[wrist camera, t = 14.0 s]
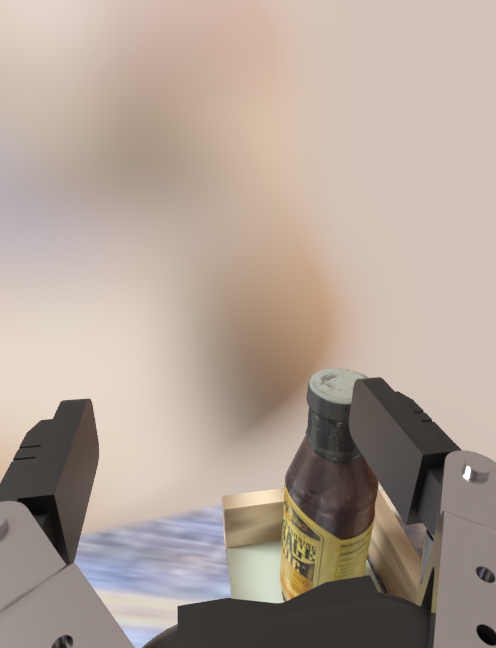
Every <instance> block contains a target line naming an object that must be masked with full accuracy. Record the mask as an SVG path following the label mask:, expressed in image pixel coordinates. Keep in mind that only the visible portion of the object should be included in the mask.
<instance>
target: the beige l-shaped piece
mask: <svg viewBox="0 0 496 648" xmlns="http://www.w3.org/2000/svg"><path fill="white" fill-rule="evenodd" d="M284 489H285V488H281V489H273V490H267V491H258V492H252V493H243V494H236V495H228V496H223V497H222V500H223V522H224V540H225V548H226V556H227V564H228V572H229V580H230V588H231V596H232V599H241V600H251V601H260V602H269V603H283V602H284V600H283V595H282V588H281V582H280V566H281V546H282V521H283V507H284ZM368 555H369V557H370V559H371V561H372V563H373V565H374V567H375V569H376V571H377V573H378V575H379V577H380V579H381V581H382V583H383V585H384V587H385V589H386V591H387V594H391V595H395V596H398V597H401V598H404V599H406V600H408V601H411V602H413V603H415V602H416V596H417V589H418V581H419V573H420V566H421V558H420V556H419V554H418V553H417V551H416V550H415V548H414V546H413V545H412V543H411V541H410V540H409V538H408V537H407V535H406V533H405V532H404V530H403V529H402V527H401V525H400V524H399V522H398V520H397V519H396V517H395V516H394V514H393V512H392V511H391V509H390V508H389V506H388V504H387V503H386V501H385V499H384V498H383V496H382V495H381V493H380V491H379V490H378V492H377V498H376V502H375V518H374V524H373V529H372V534H371V540H370V545H369V550H368ZM368 575H370V576H371V578H372V580H373V582H374V584H375V586H376V589H377V591H378V592H382V590H381V587H380V585H379V583H378V581H377V579H376V577H375V575H374V573H373V571H372V569H371V567H370V565H369V562H368V560H367V561H366V567H365V573H364V576H368Z"/></svg>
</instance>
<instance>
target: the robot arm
mask: <svg viewBox="0 0 496 648" xmlns="http://www.w3.org/2000/svg"><path fill="white" fill-rule="evenodd" d="M349 430H350V434H351V437H352V439H353V441H354V442H355V444H356V446H357V447H358V449H359V450H360V452H361V454H362V455H363V457H364V458H365V460H366V462H367V463H368V465H369V466H370V468H371V470H372V471H373V473H374V474H375V476H376V478H377V479H378V481H379V482H380V484H381V486H382V487H383V489H384V490H385V492H386V494H387V495H388V497H389V498H390V500H391V502H392V503H393V505H394V506H395V508H396V510H397V511H398V513H399V514H400V516H401V518H402V519H403V521H404V523H405V524H406V525H409V524H416V523H423V524H424V525H425V527H426V528H427V529H426V533H425V536H424V542H423V550H422V558H421V566H420V573H419V581H418V589H417V596H416V602H415V603H413V602H411V601H408V600H406V599H404V598H401V597H398V596H395V595H391V594H387V593H383V592H378V591H377V589H376V586H375V584H374V582H373V580H372V578H371V576H370V575H368V576H361V577H355V578H349V579H343V580H337V581H330V582H325V583H323V584H321V585H319V586H317V587H315V588H313V589H311V590H309V591H307V592H305V593H302V594H300V595H298V596H296V597H294V598H292V599H290V600H288V601H286V602H283V603H269V602H260V601H251V600H241V599H232V598H225V599H219V600H213V601H206V602H200V603H194V604H188V605H182V606H178V624H177V625H175V626H173V627H171V628H169V629H167V630H165V631H164V632H162V633H161V634H159V635H157V636H156V637H154V638H153V639H152V640H151V641H149V642H148V643H147V644H146V645H144V646H143V647H142V648H496V463H495V462H494V461H493V460H491V459H489V458H487V457H485V456H483V455H481V454H478V453H475V452H470V451H462V450H461V449H460V448H459V447H458V446H457V445H456V444H455V443H454V442H453V441H452V440H451V439H450V438H449V437H448V436H447V435H446V434H445V433H444V431H442V429H440V427H439V426H438V425H437V424H436V423H435V422H432V419H431V418H430V417H429V416H428V415H427V414H426V413H424V412H423V410H422V409H421V408H420V407H419V406H418V405H417V404H416V403H415V402H414V400H412V399H410V398H409V397H407V396H405V395H403V394H402V393H400V392H394V391H393V389H392V388H391V387H390V386H389V385H388V384H387V383H386V382H385V381H384V380H383V379H382V378H380V377H379V378H378V377H377V378H364V379H357V380H356V381H355V383H354V387H353V394H352V401H351V408H350V415H349ZM98 458H99V443H98V436H97V430H96V424H95V417H94V412H93V405H92V402H91V400H90V399H79V400H65V401H62V402H61V403H60V405H59V407H58V409H57V411H56V413H55V416H54V418H53V419H49V420H41V421H40V422H39V423H38V424H37V425H35V426H34V427H33V428H32V429H31V430H30V431H28V432H27V434H26V436H25V437H24V440H23V441H22V443H21V445H20V449H19V450H18V451H17V453H16V455H15V457H14V459H13V460H14V461H13V462H11V464H10V466H9V468H8V470H7V472H6V474H5V476H4V478H3V479H2V481H1V483H0V648H134V646H133V645H132V643H131V642H130V640H129V639H128V638H127V636H126V635H125V633H124V632H123V630H122V629H121V628H120V626H119V625H118V623H117V622H116V620H115V619H114V618H113V616H112V615H111V613H110V612H109V611H108V609H107V608H106V606H105V605H104V603H103V602H102V601H101V599H100V598H99V596H98V595H97V593H96V592H95V591H94V589H93V588H92V586H91V585H90V584H89V582H88V581H87V579H86V578H85V576H84V575H83V574H82V572H81V571H80V569H79V568H78V567H77V566H76V564H74V559H75V555H76V551H77V547H78V543H79V539H80V535H81V531H82V527H83V523H84V518H85V514H86V510H87V506H88V502H89V498H90V494H91V490H92V486H93V482H94V478H95V474H96V470H97V465H98Z"/></svg>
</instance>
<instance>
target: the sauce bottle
mask: <svg viewBox="0 0 496 648" xmlns="http://www.w3.org/2000/svg"><path fill="white" fill-rule="evenodd" d="M364 378H368V377H367V376H365V375H363V374H361V373H359V372H356V371H351V370H348V369H342V368H332V369H325V370H322V371H319V372H317V373H316V374H314V375H313V376H312V377H311V379H310V380H309V384H308V391H307V402H308V405H309V413H308V427H307V430H306V436H305V438H304V440H303V441H302V443H301V445H300V447H299V449H298V451H297V453H296V455H295V457H294V459H293V461H292V463H291V465H290V467H289V469H288V471H287V473H286V476H285V485H284V487H285V489H284V507H283V521H282V546H281V566H280V582H281V588H282V595H283V600H284V602H286V601H288V600H290V599H292V598H294V597H296V596H298V595H300V594H302V593H305V592H307V591H309V590H311V589H313V588H315V587H317V586H319V585H321V584H323V583H325V582H330V581H337V580H343V579H349V578H355V577H361V576H364V573H365V567H366V561H367V556H368V550H369V545H370V540H371V534H372V529H373V524H374V518H375V502H376V498H377V492H378V479H377V478H376V476H375V474H374V473H373V471H372V470H371V468H370V466H369V465H368V463H367V462H366V460H365V458H364V457H363V455H362V454H361V452H360V450H359V449H358V447H357V446H356V444H355V442H354V441H353V439H352V437H351V434H350V430H349V415H350V408H351V401H352V394H353V387H354V383H355V381H356V380H357V379H364Z"/></svg>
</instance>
